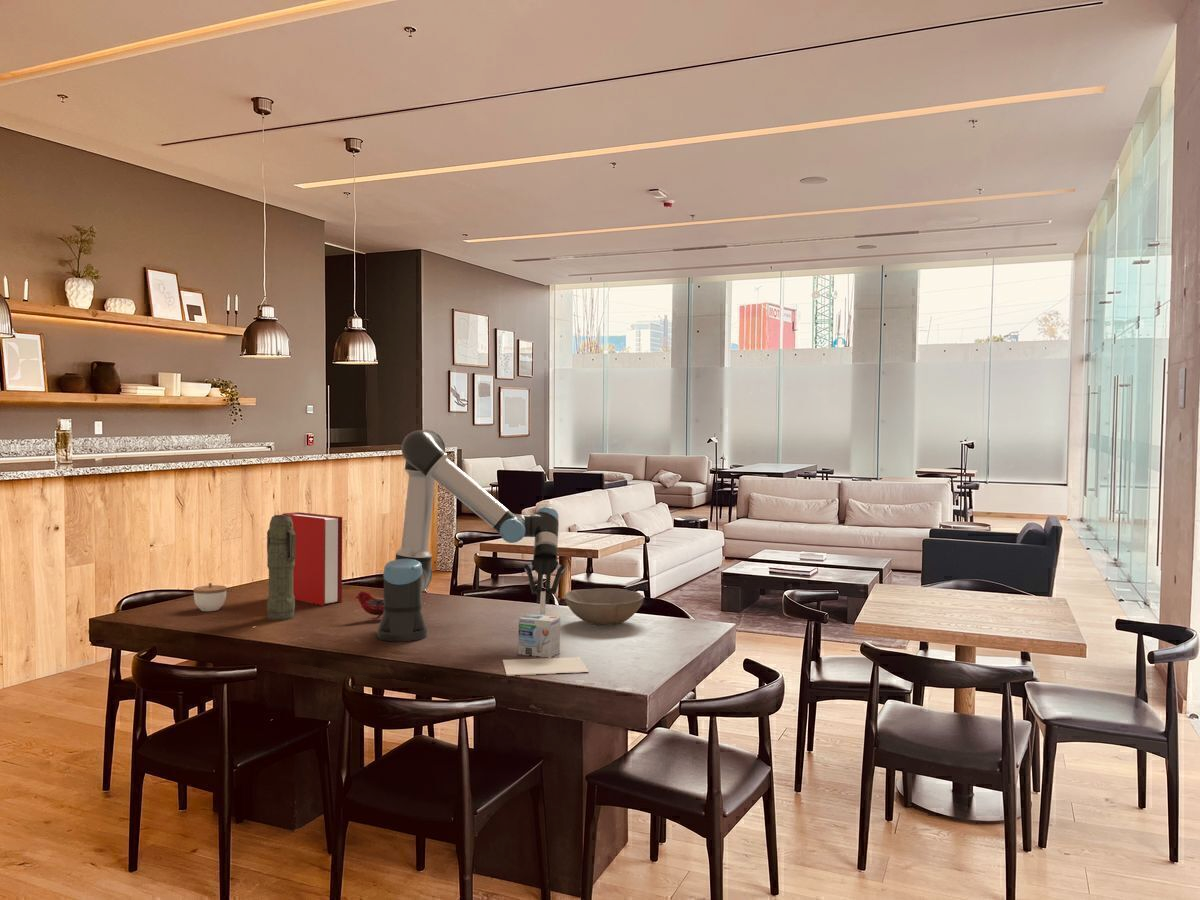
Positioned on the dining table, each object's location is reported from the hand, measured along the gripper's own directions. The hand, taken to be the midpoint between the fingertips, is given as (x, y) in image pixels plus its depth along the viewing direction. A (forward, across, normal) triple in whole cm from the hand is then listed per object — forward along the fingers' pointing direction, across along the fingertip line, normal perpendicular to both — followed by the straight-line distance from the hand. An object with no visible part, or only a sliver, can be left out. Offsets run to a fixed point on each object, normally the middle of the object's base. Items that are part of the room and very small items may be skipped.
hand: (542, 611), depth 266 cm
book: (-41, +92, -55) cm, 114 cm away
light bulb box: (+15, 0, 0) cm, 15 cm away
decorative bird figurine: (-17, +57, -31) cm, 67 cm away
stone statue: (-18, +91, -32) cm, 98 cm away
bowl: (-14, -19, -29) cm, 38 cm away
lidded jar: (-27, +121, -40) cm, 130 cm away
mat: (+24, -2, +10) cm, 26 cm away
